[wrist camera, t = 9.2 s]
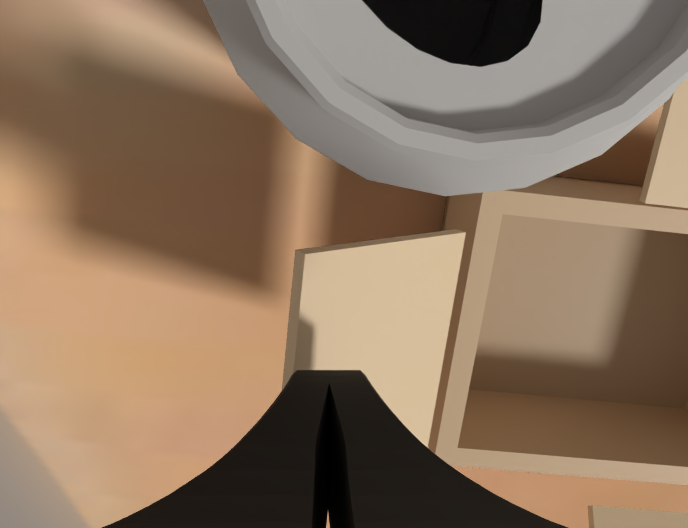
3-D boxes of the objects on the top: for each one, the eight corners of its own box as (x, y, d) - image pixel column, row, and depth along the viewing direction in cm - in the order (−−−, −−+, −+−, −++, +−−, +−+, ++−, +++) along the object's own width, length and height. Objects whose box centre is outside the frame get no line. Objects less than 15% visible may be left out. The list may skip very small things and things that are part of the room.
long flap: (305, 254, 12) (295, 249, 12) (278, 519, 13) (270, 511, 14) (465, 232, 15) (455, 229, 15) (427, 447, 17) (419, 441, 17)
